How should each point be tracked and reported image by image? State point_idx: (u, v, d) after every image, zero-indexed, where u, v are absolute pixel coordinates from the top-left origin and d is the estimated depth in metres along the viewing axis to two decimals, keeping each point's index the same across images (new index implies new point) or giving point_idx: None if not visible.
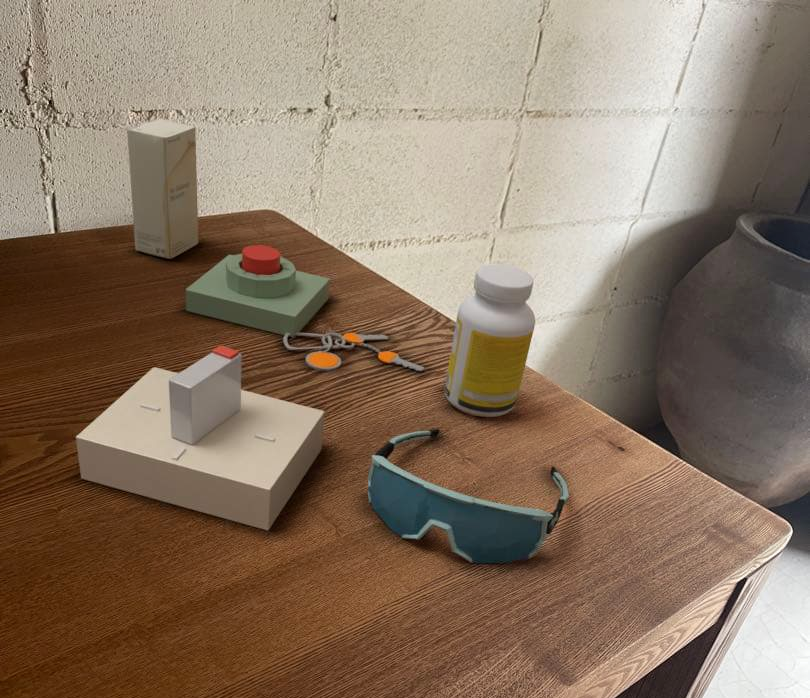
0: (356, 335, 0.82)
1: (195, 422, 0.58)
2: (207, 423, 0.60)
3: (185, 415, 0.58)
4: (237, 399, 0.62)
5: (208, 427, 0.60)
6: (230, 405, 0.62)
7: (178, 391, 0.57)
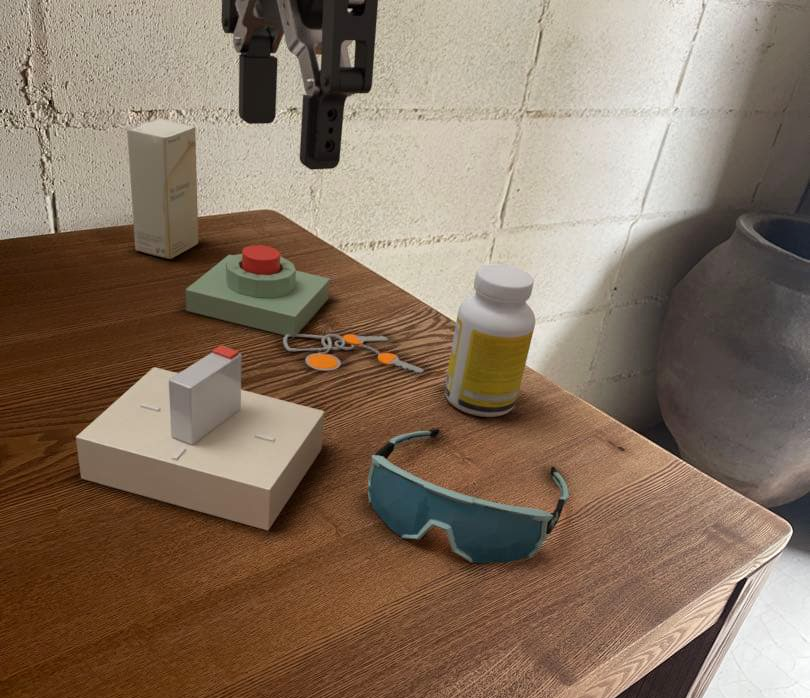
0: (356, 337, 0.82)
1: (195, 422, 0.58)
2: (207, 423, 0.60)
3: (185, 415, 0.58)
4: (237, 399, 0.62)
5: (208, 427, 0.60)
6: (230, 405, 0.62)
7: (178, 391, 0.57)
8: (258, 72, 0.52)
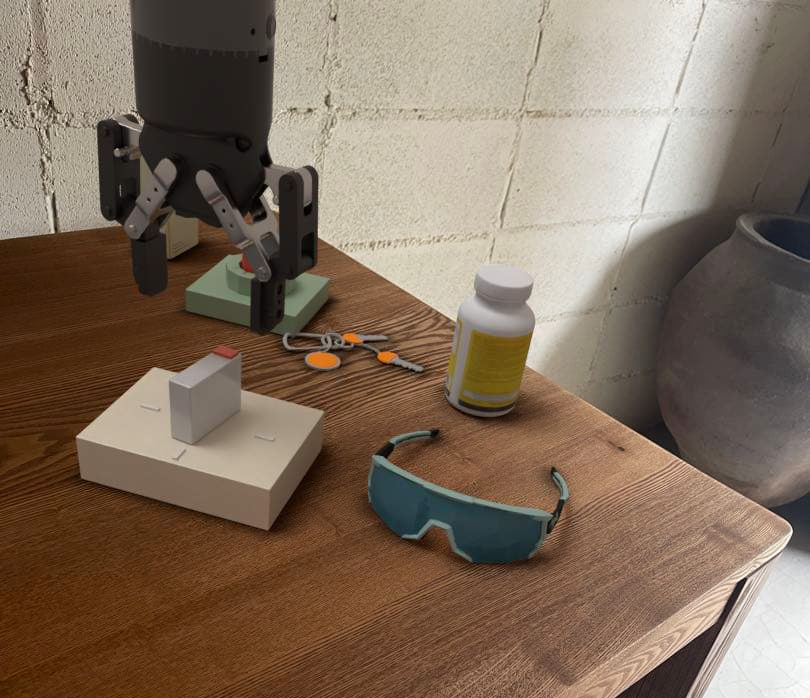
0: (356, 336, 0.82)
1: (195, 422, 0.58)
2: (207, 423, 0.60)
3: (185, 415, 0.58)
4: (237, 399, 0.62)
5: (208, 427, 0.60)
6: (230, 405, 0.62)
7: (178, 391, 0.57)
8: (154, 251, 0.55)
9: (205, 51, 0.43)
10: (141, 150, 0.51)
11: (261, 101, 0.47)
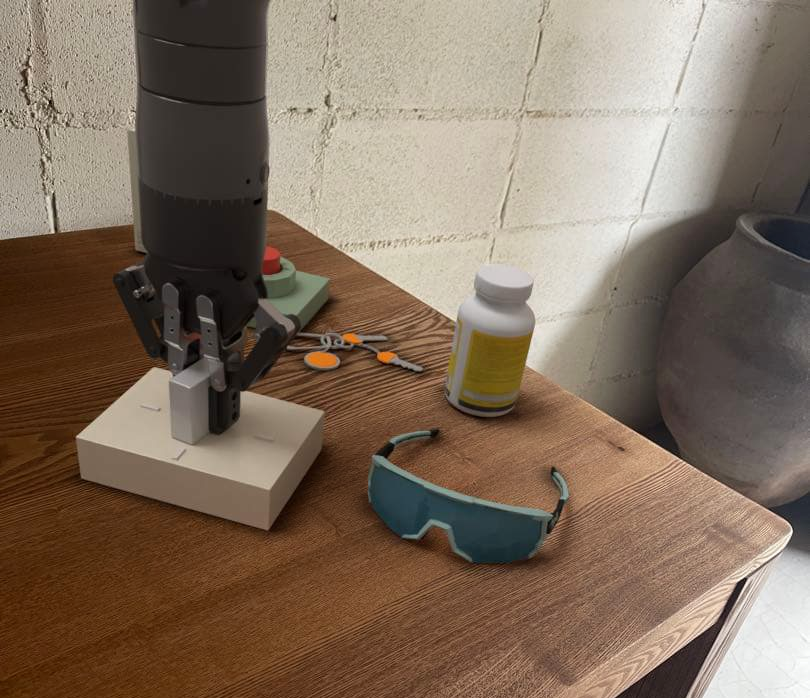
0: (355, 336, 0.82)
1: (195, 422, 0.58)
2: (207, 423, 0.60)
3: (185, 415, 0.58)
4: None
5: (208, 427, 0.60)
6: None
7: (178, 391, 0.57)
8: None
9: (205, 201, 0.48)
10: (150, 278, 0.55)
11: (255, 237, 0.51)
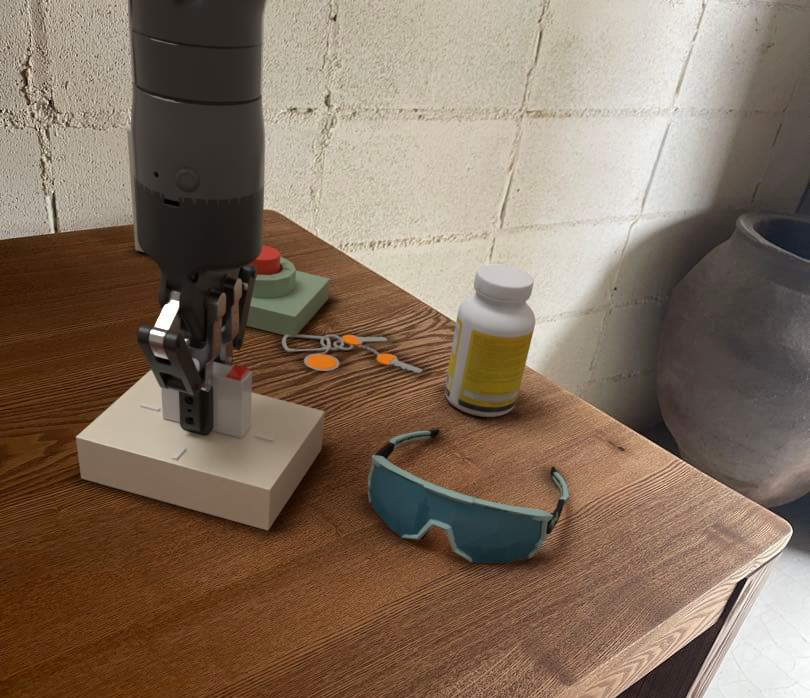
0: (355, 337, 0.82)
1: (166, 398, 0.60)
2: None
3: None
4: (235, 425, 0.60)
5: None
6: (222, 422, 0.60)
7: None
8: None
9: (134, 177, 0.49)
10: None
11: (170, 239, 0.49)
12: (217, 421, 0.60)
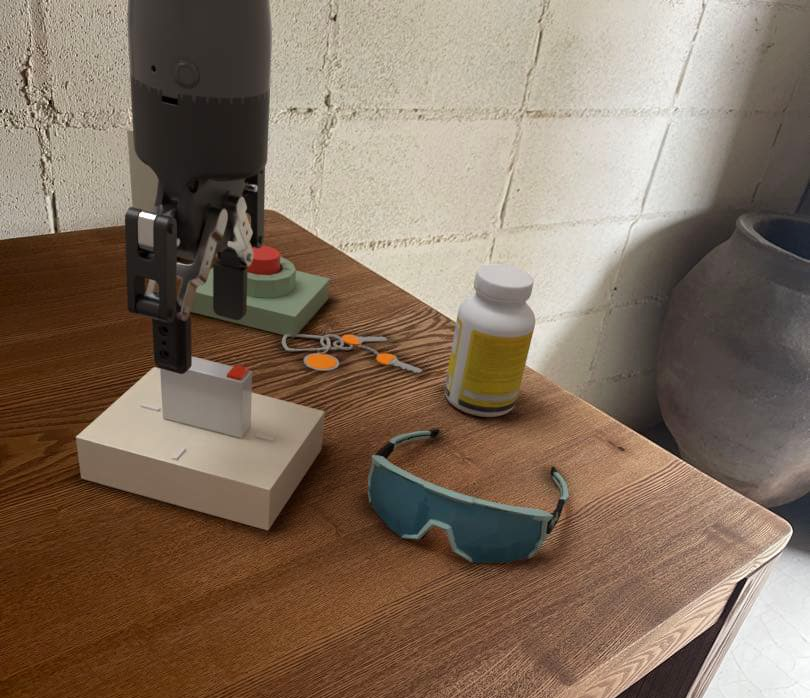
0: (355, 337, 0.82)
1: (166, 398, 0.60)
2: (185, 413, 0.60)
3: None
4: (235, 425, 0.60)
5: (187, 419, 0.61)
6: (222, 422, 0.60)
7: None
8: (226, 278, 0.59)
9: (130, 75, 0.46)
10: None
11: (168, 142, 0.46)
12: (217, 421, 0.60)
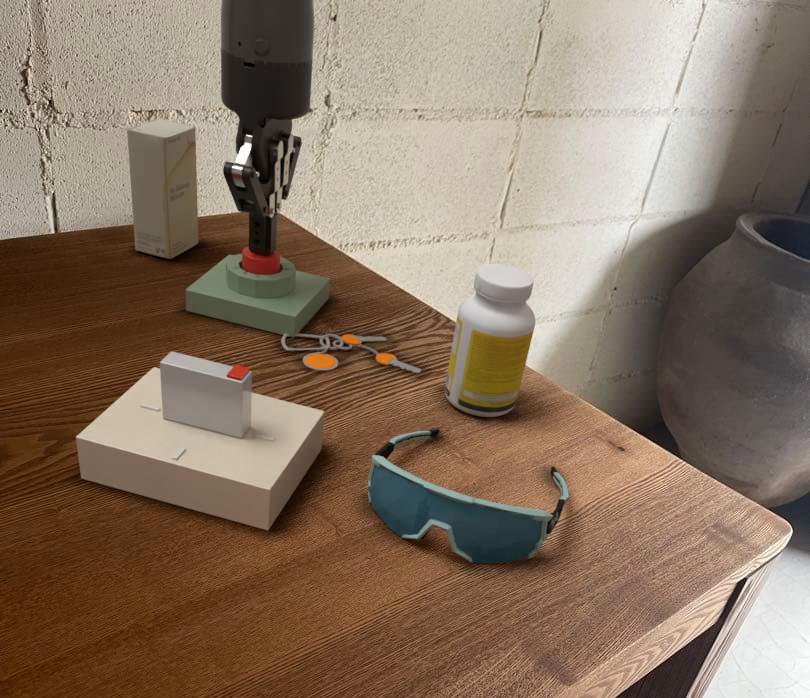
0: (355, 337, 0.82)
1: (166, 398, 0.60)
2: (185, 413, 0.60)
3: None
4: (235, 425, 0.60)
5: (187, 419, 0.61)
6: (222, 422, 0.60)
7: None
8: None
9: (222, 49, 0.70)
10: None
11: (247, 93, 0.70)
12: (217, 421, 0.60)
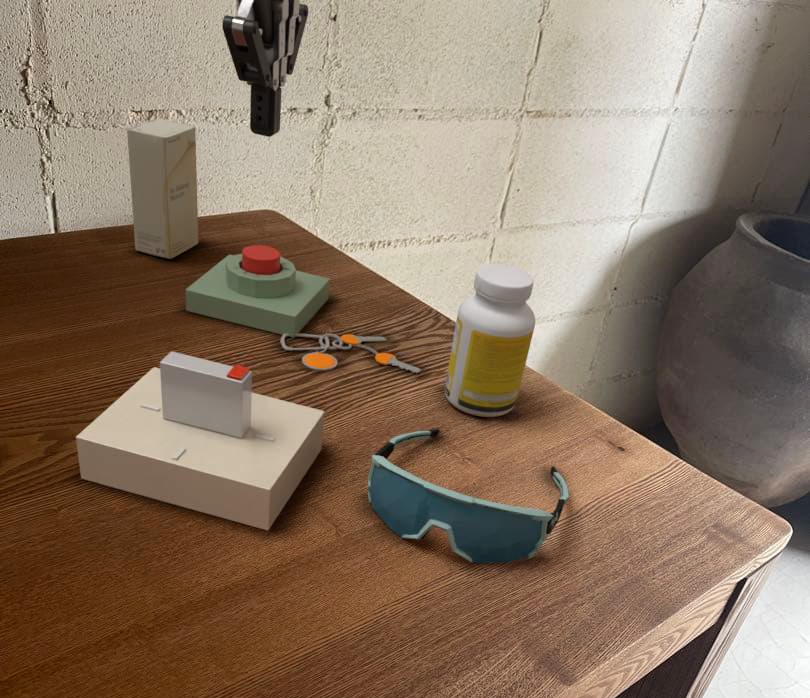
0: (354, 337, 0.82)
1: (166, 398, 0.60)
2: (185, 413, 0.60)
3: None
4: (235, 425, 0.60)
5: (187, 419, 0.61)
6: (222, 422, 0.60)
7: None
8: None
9: None
10: None
11: None
12: (217, 421, 0.60)
